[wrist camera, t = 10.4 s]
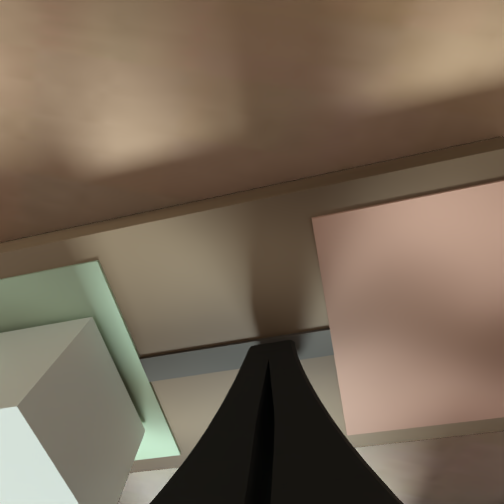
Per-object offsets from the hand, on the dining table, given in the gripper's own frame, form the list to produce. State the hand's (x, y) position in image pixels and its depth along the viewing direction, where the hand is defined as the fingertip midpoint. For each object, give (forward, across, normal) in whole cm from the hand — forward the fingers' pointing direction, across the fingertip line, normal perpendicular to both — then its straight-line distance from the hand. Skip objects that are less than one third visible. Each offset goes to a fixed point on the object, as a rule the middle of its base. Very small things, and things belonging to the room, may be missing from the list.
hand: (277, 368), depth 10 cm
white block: (+1, +7, 0) cm, 7 cm away
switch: (+2, +3, 0) cm, 4 cm away
